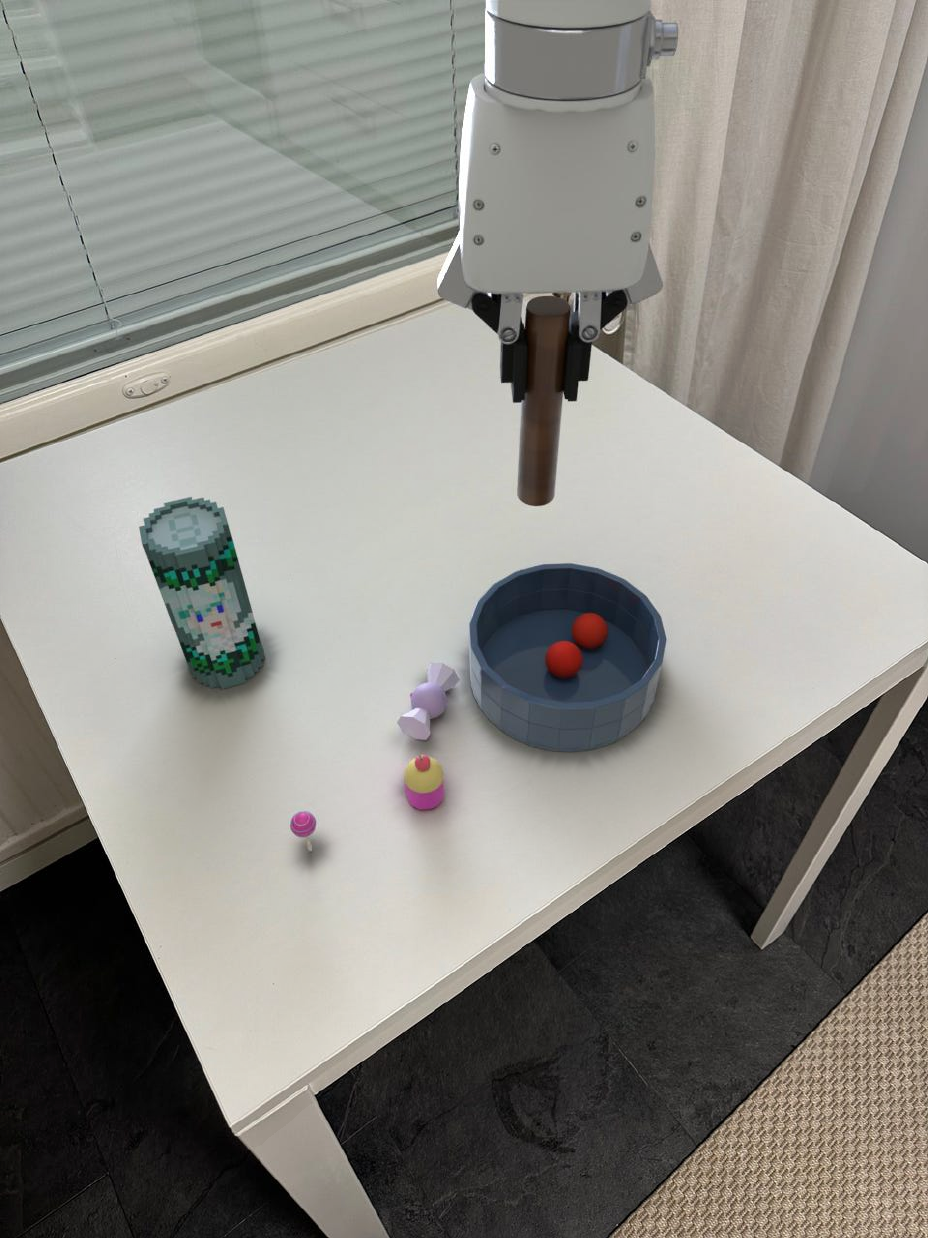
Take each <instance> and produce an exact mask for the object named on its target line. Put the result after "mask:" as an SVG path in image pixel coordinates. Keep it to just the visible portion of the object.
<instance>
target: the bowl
mask: <svg viewBox="0 0 928 1238" xmlns="http://www.w3.org/2000/svg"><path fill="white" fill-rule="evenodd" d="M585 613H594V614H597V615H599V616H601V617H602V618H603V619H604V620H605V622H606V624H607V627H608V635H607V638H606V640H605V642H604V643H603V644H602V645H600V646H599V647H597V648H594V649H586V648H583V647H581V646H579V645H578V644H577V643H576V642H575V641H574V639H573V636H572V626H573V623H574V621H575V620H576V619H577V618H578V617H579V616H580V615H582V614H585ZM468 623H469V624H468V638H469V639H468V642H469V648H468V649H469V650H468V651H469V679H470V688H471V690H472V693H473V697H474V699H475V701H476V703H477V705H478V708H479V709H480V710H481V711H482V713H483V714H484V715H485V716H486V718H487V719H488V720H489V721H490V722H491V724H493V725H494V726H495V727H496V728H498V729H499V730H500V731H501V732H503V733H504V734H506V735H507V736H509V737H511V738H512V739H514V740H516V741H519V742H521V743H523V744H525V745H528V746H531V747H534V748H538V749H542V750H546V751H551V752H553V751H554V752H561V753H562V752H563V753H565V752H568V753H569V752H570V753H575V752H585V751H591V750H595V749H599V748H603V747H605V746H608V745H611V744H613V743H616V742H617V741H619V740H621V739H622V738H625V736H628V734H631V733H632V732H633V730H635V729H636V728H637V727H638V726H639V725H640V724H641V723H642V721H643V720H644V719H645V718H646V716H647V714H648V713H649V711H650V709H651V706H652V705H653V703H654V701H655V698H656V694H657V693H656V692H657V688H658V684H659V680H660V675H661V671H662V668H663V662H664V657H665V652H666V646H667V642H668V641H667V639H668V638H667V635H666V631H665V626H664V623H663V619H662V616H661V614H660V613H659V612H658V610H657V608H656V607H655V606H654V605H653V603H652V602H651V601H650V599H649V597H648V596H647V594H645V593H643V591H641V590H639V588H637V587H635V586H634V585H633V583H631V582H629V581H628V580H626V579H625V578H623V577H620V576H618V575H616V574H613V573H611V572H609V571H607V570H604V569H602V568H599V567H595V566H589V565H583V564H578V563H571V562H564V563H562V562H561V563H542V564H537V565H534V566H530V567H526V568H524V569H520V570H516V571H514V572H512V573H510V574H509V575H507V576H505V577H503V578H501V579H500V580H498V581H496V582H494V583H493V584H492V585H491V586H490V587H489V588H488V589H487V591H486V592H485V593H483V595H482V596H481V597H480V598H479V599H478V600H477V602H476V604H475V607H474V610H473V612H472V614H471V617H470V619H469V622H468ZM560 641H568V642H571V643H573V644H575V645H576V646H577V647H578V648H579V650H580V651H581V654H582V659H583V661H582V666H581V668H580V670H579V671H578V672H577V673H576V674H575V675H574V676H572V677H569V678H559V677H556V676H554V675H553V674H552V673H551V672H550V671H549V670H548V668H547V666H546V662H545V657H546V653H547V651H548V649H549V648H550V647H551V646H552V645H553V644H555V643H557V642H560Z"/></svg>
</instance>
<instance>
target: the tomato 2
mask: <svg viewBox="0 0 928 1238" xmlns="http://www.w3.org/2000/svg"><path fill="white" fill-rule="evenodd" d="M607 635H608V627H607V624H606V622H605V620H604V619H603V618H602V617H601V616H599V615H597V614H594V613H585V614H582V615H580V616H579V617H578V618H577V619H576V620H575V621H574V623H573V626H572V636H573V639H574V641H575V642H576V643H577V644H578V645H579V646H581V647H583V648H586V649H594V648H597V647H599V646H600V645H602V644H603V643H604V642H605V640H606V638H607Z"/></svg>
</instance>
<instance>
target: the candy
mask: <svg viewBox="0 0 928 1238" xmlns="http://www.w3.org/2000/svg"><path fill="white" fill-rule="evenodd" d="M426 671H427V672H426V673H427V674H426V675H427V682H423V683H421V684H419V685H418V686H416V687H415V688H414V689H413V691H412V692H411V693H410V694H409V697H410V705H411V708H412V709H411V710H410V711H408V712H406V713H404V714H403V715H401V716H400V717H399V719H398V720H397V721H396V724H397V725H398V727H399V729H400V731H402V732H403V733H404V734H406V735H407V736H409V737H411V738H412V739H414V740H425V741H427V740H428V738H429V737H430V736H431V734H432V732H431V720H432V719H435V718H438V717H439V716H441V715H442V714H443V713H444V711H445V710H446V707H447V703H448V698H447V694H446V692H448V691H449V690H450V689H452V688H454V687H456V685H458V683H459V681H460V678H459V675H458V673H457V672H456V670H455V669H453V668H451V666H448V665H447V664H445V663H443V662H431V663H430V664H429V666H428V667H427V669H426ZM403 781H404V782H403V783H404V790H405V798H406V799H407V802H408V803H409V804H410V805H411V806H412V807H414V808H415V809H419V810H431V809H434V808H436V807H437V806H438V805H440V804H441V802H442V801H443V799H444V797H445V780H444V769H443V768H442V764H440V763H439V761H438V760H437V759H435V758H434V757H431V756H428V755H426V754H421V753H417V756H416V757H415V758H413V759H411V760H410V761H409V762H408V764H407V765H406V766H405V769H404V772H403ZM289 823H290V824H289V829H290V830H291V831H290V832H291V833H293V834H294V835H295V836H296V837H298V838H304V839H305V842H306V846H307V850H308V852H313V849H314V848H313V846H312V842H311V839H310V837H311V835H312V834H314V832H315V831H316V827H317V819H316V817H315V816H314V815H313V813H312V812H310V811H308V810H301V811H298V812H295V814H294V815H292V817H291V818H290V822H289Z"/></svg>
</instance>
